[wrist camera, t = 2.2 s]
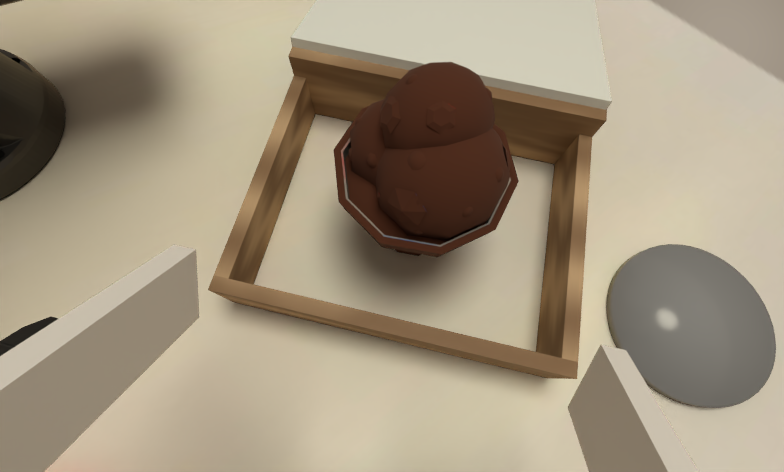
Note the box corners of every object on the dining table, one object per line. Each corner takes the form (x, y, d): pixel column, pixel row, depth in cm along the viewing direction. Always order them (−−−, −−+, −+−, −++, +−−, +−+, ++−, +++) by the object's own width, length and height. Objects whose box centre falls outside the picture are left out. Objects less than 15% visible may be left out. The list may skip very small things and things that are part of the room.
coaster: (584, 261, 31) (589, 258, 30) (719, 236, 32) (727, 232, 31) (644, 422, 27) (651, 424, 26) (796, 388, 28) (807, 388, 27)
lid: (362, -43, 42) (358, -122, 36) (580, -2, 41) (619, -77, 34) (307, 103, 36) (289, 39, 29) (566, 157, 34) (611, 103, 27)
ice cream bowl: (326, 196, 32) (282, 60, 18) (442, 148, 34) (484, -9, 20) (379, 311, 29) (376, 252, 15) (504, 251, 31) (605, 150, 17)
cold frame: (308, 102, 36) (292, 46, 29) (566, 156, 34) (606, 109, 28) (233, 301, 29) (193, 282, 23) (547, 378, 28) (593, 378, 22)
